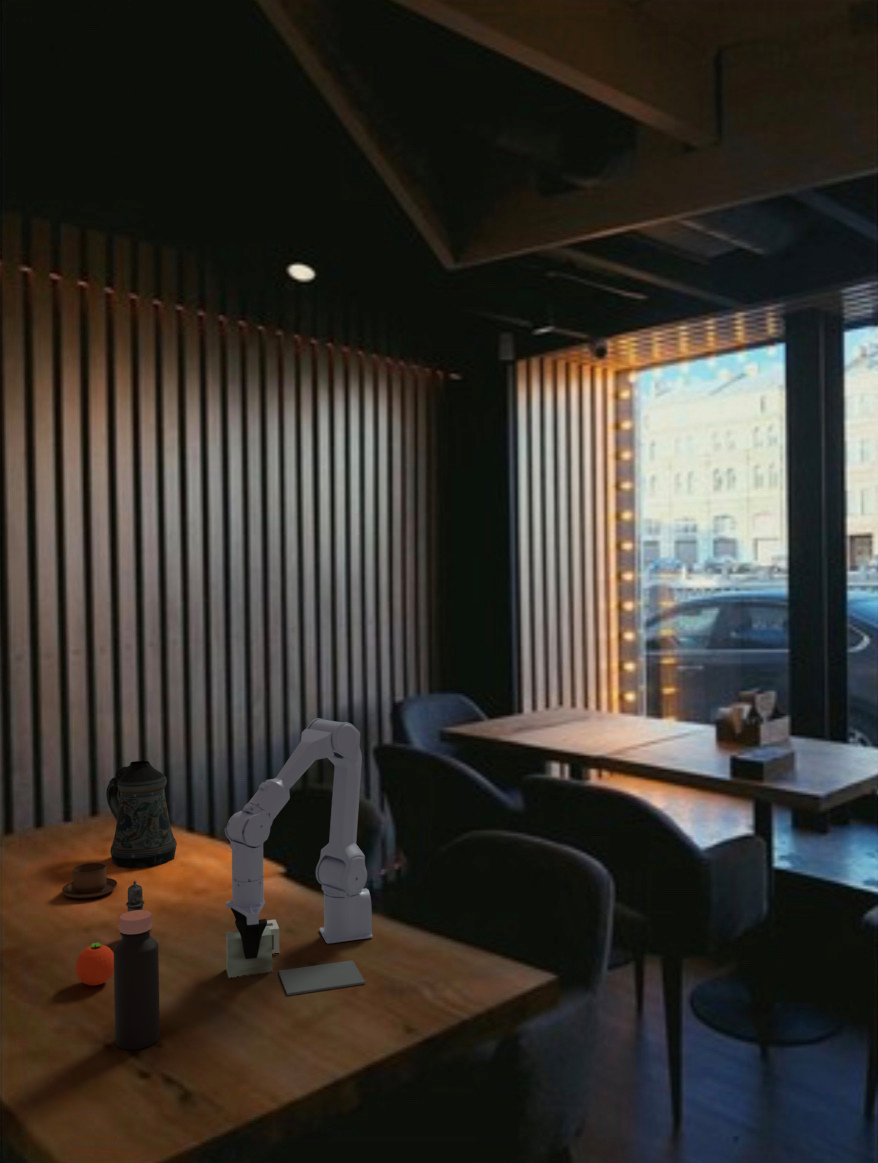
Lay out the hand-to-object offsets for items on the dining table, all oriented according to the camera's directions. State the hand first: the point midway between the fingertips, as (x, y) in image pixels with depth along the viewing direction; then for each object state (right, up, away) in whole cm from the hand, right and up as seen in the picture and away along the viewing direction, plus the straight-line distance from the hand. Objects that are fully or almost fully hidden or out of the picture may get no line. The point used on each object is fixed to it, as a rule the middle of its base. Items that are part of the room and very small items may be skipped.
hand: (248, 950), depth 178 cm
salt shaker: (-26, -4, +16) cm, 31 cm away
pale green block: (0, -4, 0) cm, 4 cm away
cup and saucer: (-46, -4, +44) cm, 64 cm away
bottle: (-12, -5, -26) cm, 29 cm away
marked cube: (+1, -4, +9) cm, 10 cm away
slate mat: (+14, -4, -4) cm, 15 cm away
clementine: (-27, -4, -4) cm, 28 cm away
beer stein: (-43, -4, +70) cm, 82 cm away
